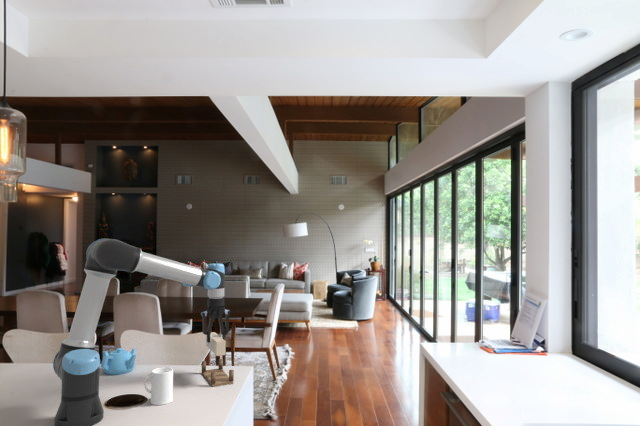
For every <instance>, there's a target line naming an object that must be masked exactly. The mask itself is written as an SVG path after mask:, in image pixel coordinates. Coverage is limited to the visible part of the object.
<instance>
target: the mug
mask: <svg viewBox="0 0 640 426" xmlns="http://www.w3.org/2000/svg"><path fill="white" fill-rule="evenodd" d="M149 377H151V378H150V380H151V385H150V386H151V387H150V389H151V390H150V389H149V388H148V387H147V384H146V383H147V379H148V378H149ZM143 385H144V389H145V390H146V392H148V393H149V394H150V402H149V403H150V404H151V405H153V406H163V405H164V406H165V405H168V404H170V403H172V402H173V401H174V395H173V393H174V390H173V389H174V369H173V368H172V367H158V368H154V369H152V370H151V372H150V373H148V374H147V375H146V376H145V378H144V380H143Z"/></svg>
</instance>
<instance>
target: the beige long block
mask: <svg viewBox="0 0 640 426" xmlns="http://www.w3.org/2000/svg"><path fill="white" fill-rule="evenodd" d="M211 335H212V350H210V351H211V352H212V353H213V354H214V356H216V357H220V356H226V353H227V352H226V339H225V340H224V339H223V338H221V337H220V336H219V333H217V332H214V331H211ZM205 337H206V340H205V342H206V345H205V346H206V347H207V348H208V349H209V343H208V342H207V335H206V336H205Z"/></svg>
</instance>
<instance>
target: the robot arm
mask: <svg viewBox="0 0 640 426" xmlns="http://www.w3.org/2000/svg"><path fill="white" fill-rule="evenodd" d="M85 255H86V261H85V265H84V269H83V271H84V272H85V274H86V277H85V280H84V283H83V286H82V288H81V289H82V290H81V292H80V297H79V300H78V303H77V306H76V310H75V314H74V317H73V319H72V323H71V327H70V329H69V333H68V336H67V337H66V338H65V339H63V340H62V341H61V345H60V347H59V350H58V351H57V352H56V353H55V355H54V357H53V361H52V367H53V372H54V373H55V374H56V376H57V377H58V378H59V379H60V380H61V392H60V393H61V397H60V398H61V399H60V402H59V406H58V408H57V411H56V413H55V417H54V422H53V423H54V424H53V425H54V426H94V425H96V424H97V423H100V422H101V421H102V420H103V418H104V417H105V416H104V414H105V412H104V407H103V405H102V402H101V398H100V396H99V395H100V394H99V393H100V391H99V390H100V370H101V369H100V368H101V367H100V366H101V359H100V354H99V352H98V351H97V350H95V349H96V344H95V342H94V340H93V339H94V338H95V337H94V336H95V334H96V330H97V327H98V324H99V320H100V316H101V312H102V310H103V306H104V302H105V299H106V296H107V292H108V289H109V285H110V281H111V280H112V279H113V278H114V277H116V276H117V273H118V271H121V272H122V271H123V272H127V273H134V272H139V273H143V274H147V275H152V276H154V277H159V278H163V279H167V280H171V281H175V282H179V283H181V284H182V285H183V287H185V288H186V287H187V288H188V287H190V288H191V287H196V288H201V289H206V290H207V297H208V298H207V308H206V309H205V310H204V311H201V312H200V316H201V319H202V320H201V321H202V334H203V335H204V336H205V335H207V342H208V343H209V348H208V350H209V351H211V350H212V335H211V332H212V329H213V325H214V320H215V319H218V324H219V329H220V333H218V335H219V336H220V337H221V338H223V339H224V340H225V341H226V339H225V334H226V333H229V331H230V330H229V329H230V315H231V310H230V309H226V307H225V275H226V273H225V271H226V270H225V265H224V264H223V263H209V264H208V265H207V267H206V268H201V267H197V266H194V265H189V264H186V263H183V262H179V261H176V260H174V259H170V258H165V257H162V256H159V255H155V254H153V253H148V252H144V251H142V248H140V247H136V246H134V245H130V244H129V243H126V242H124V241H121V240H119V239H115V238H99V239H97V240H95V241H93V242H91V244H90V245H88V247H87V249H86V254H85ZM207 314H208V315H209V320H208V321H209V322H208V324H207V316H208V315H207ZM224 314H225V316H224V317H225V318H224V319H225V320H224V321H223V315H224Z"/></svg>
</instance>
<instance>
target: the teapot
mask: <svg viewBox="0 0 640 426" xmlns="http://www.w3.org/2000/svg"><path fill="white" fill-rule="evenodd" d="M136 352H137V348H132V349H131V351H129V350H127V349H125V350H124V348H122V347H118V348H116V349H115V350H114V351H110V352H108V351H107V350H104V351H102V355H103V357H102V360H101V362H100V368H101V369H102V370H103V371H102V372H104V373H105V374H106V375H110V376H112V375H113V376H117V375H118V376H119V375H123V374H124V375H125V374H128V373H130V372H132V371H133V369H134V368H135V366H136V364H135V363H136V362H135V361H136V357H137V355H136Z"/></svg>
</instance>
